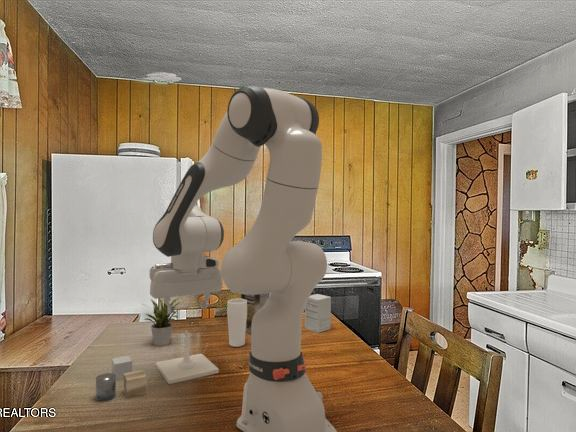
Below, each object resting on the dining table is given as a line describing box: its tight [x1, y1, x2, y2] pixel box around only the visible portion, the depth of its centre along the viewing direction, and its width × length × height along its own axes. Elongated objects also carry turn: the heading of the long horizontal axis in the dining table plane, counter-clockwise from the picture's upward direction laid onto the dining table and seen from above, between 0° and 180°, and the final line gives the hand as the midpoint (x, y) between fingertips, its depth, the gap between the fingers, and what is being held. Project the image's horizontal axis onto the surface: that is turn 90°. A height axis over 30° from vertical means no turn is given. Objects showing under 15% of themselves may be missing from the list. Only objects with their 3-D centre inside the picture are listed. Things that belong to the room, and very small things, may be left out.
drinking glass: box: [226, 298, 247, 348], centre depth 134 cm, size 7×7×15 cm
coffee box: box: [240, 293, 270, 334], centre depth 149 cm, size 9×6×16 cm
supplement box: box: [304, 293, 332, 334], centre depth 152 cm, size 7×7×13 cm
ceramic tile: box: [155, 353, 220, 385], centre depth 113 cm, size 14×14×1 cm
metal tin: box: [95, 372, 117, 403], centre depth 96 cm, size 4×4×5 cm
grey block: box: [111, 355, 133, 381], centre depth 109 cm, size 4×4×4 cm
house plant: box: [142, 296, 184, 347], centre depth 135 cm, size 14×14×16 cm
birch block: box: [123, 369, 147, 399], centre depth 99 cm, size 4×4×4 cm
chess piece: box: [178, 330, 195, 369], centre depth 113 cm, size 5×5×10 cm
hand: (187, 310), depth 113 cm, fingers open, 8 cm apart
